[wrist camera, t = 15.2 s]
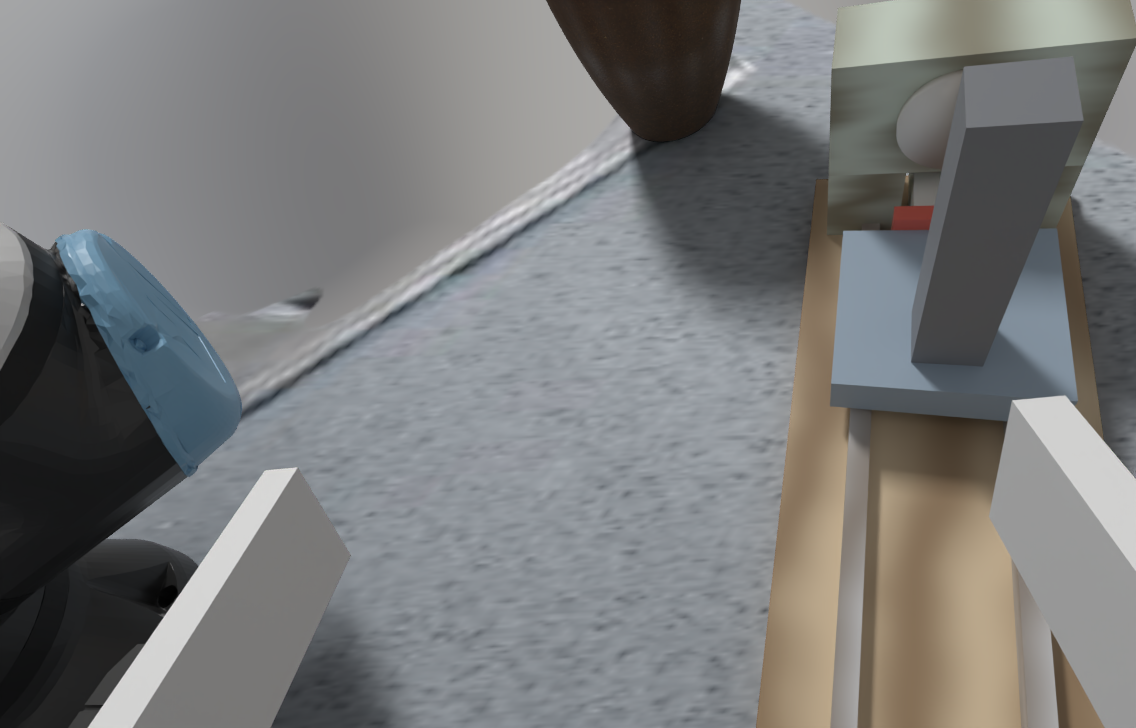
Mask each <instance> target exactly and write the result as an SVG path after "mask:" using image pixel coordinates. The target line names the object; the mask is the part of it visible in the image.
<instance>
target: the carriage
mask: <svg viewBox="0 0 1136 728" xmlns="http://www.w3.org/2000/svg"><path fill="white" fill-rule="evenodd" d="M1083 121H1084V120H1083V114H1082V107H1081V101H1080V95H1079V89H1078V83H1077V77H1076V71H1075V64H1074V58H1073V56H1071V57H1061V58H1050V59H1040V60H1029V61H1019V62H1008V63H998V64H987V65H977V66H966V67H964V68H963V73H962V77H961V82H960V87H959V91H958V96H957V101H956V106H955V110H954V115H953V120H952V124H951V129H950V134H949V139H948V143H947V148H946V153H945V157H944V162H943V167H942V171H941V176H940V181H939V186H938V190H937V195H936V200H935V204H934V209H933V214H932V219H931V223H930V228H929V230H871V231H843V240H842V253H841V265H840V278H839V291H838V303H837V316H836V329H835V341H834V354H833V366H832V379H831V396H830V406H833V407H845V408H856V409H868V410H880V411H891V412H903V413H915V414H927V415H938V416H950V417H962V418H974V419H985V420H997V421H1008V418H1009V413H1010V408H1011V403H1012V400H1022V399H1032V398H1043V397H1054V396H1064V395H1065V396H1066V397H1067V398H1068V399H1069V400H1070V402H1071V403H1072V404H1073V405H1074V406H1075V405H1076V404H1077V402H1078V397H1077V389H1076V381H1075V372H1074V364H1073V356H1072V348H1071V339H1070V331H1069V323H1068V315H1067V306H1066V298H1065V290H1064V282H1063V273H1062V265H1061V257H1060V249H1059V240H1058V232H1057V228H1047V229H1039V228H1040V226H1041V224H1042V221H1043V219H1044V216H1045V214H1046V211H1047V209H1048V206H1049V204H1050V202H1051V199H1052V197H1053V194H1054V192H1055V189H1056V187H1057V184H1058V182H1059V180H1060V177H1061V175H1062V172H1063V170H1064V167H1065V165H1066V162H1067V160H1068V158H1069V155H1070V153H1071V150H1072V148H1073V145H1074V143H1075V140H1076V138H1077V136H1078V133H1079V131H1080V128H1081V126H1082V123H1083Z"/></svg>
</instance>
